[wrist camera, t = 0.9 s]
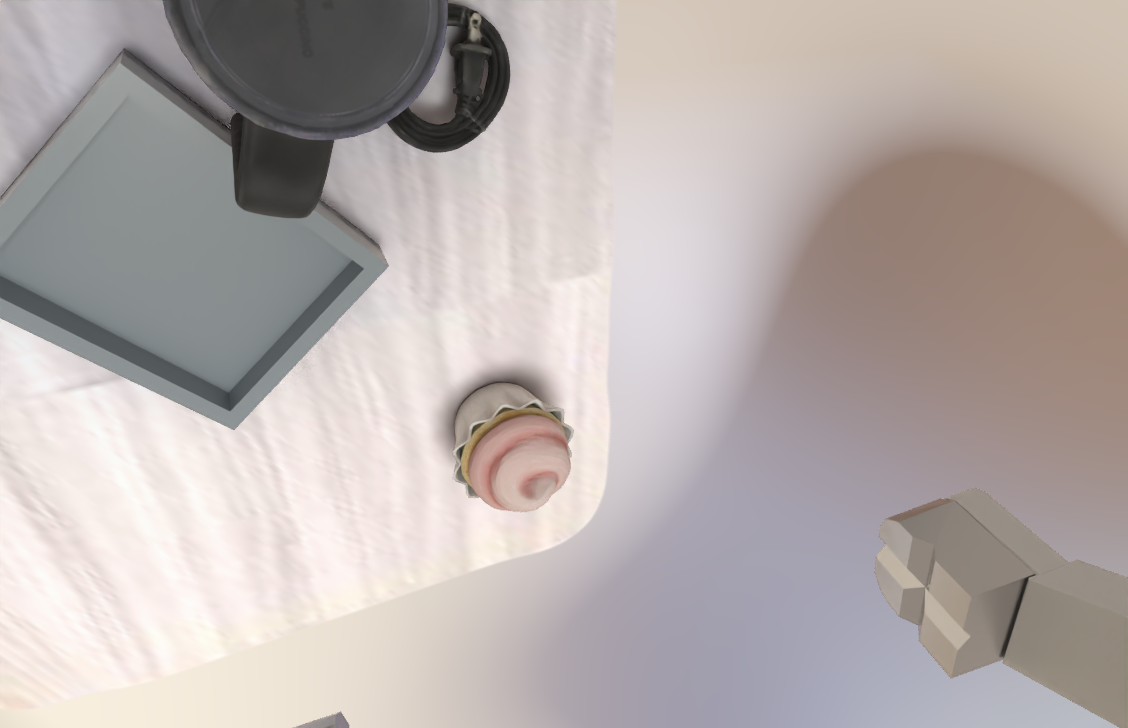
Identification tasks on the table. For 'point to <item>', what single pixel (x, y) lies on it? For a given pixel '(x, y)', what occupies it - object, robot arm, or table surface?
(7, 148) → the table surface
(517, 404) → the cupcake
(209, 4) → the milk frother
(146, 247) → the tray
